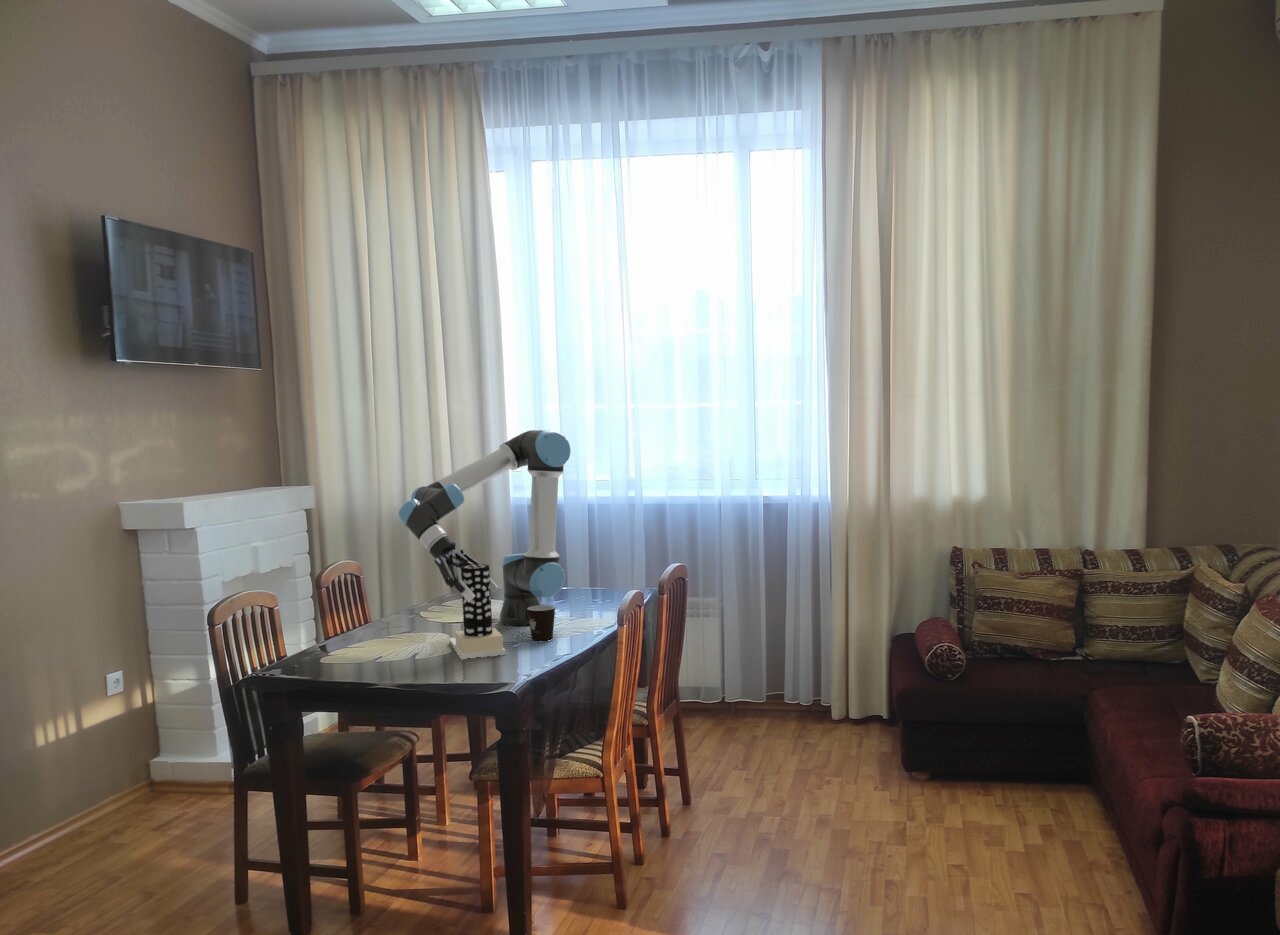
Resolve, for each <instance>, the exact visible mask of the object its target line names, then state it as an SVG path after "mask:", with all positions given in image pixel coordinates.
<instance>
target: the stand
mask: <svg viewBox="0 0 1280 935" xmlns="http://www.w3.org/2000/svg"><path fill="white" fill-rule="evenodd" d="M454 634H455V635H454V636H455V637H451V638H449V644H450V643H451V644H450V646H451V645H452V646H453V647H452V646H451V647H452V649H453V648H454V649H455V650H454V649H453V650H454V651H456V652H457V653H456V652H455V653H456V654H457V656H458V655H459V656H458V657H459V659H460V658H461V659H460V660H468V659H467V658H471V659H477V658H476V657H481V658H487V656H490V657H498V655H500V656H506V649H505V648H504V642H503V641H504V640H503V634H501V632H500V631H499V630H498V629H497V628H496V627H492V633H491V634H489V635H485V636H476V637H472V636H466V635H464V630H458V631H457V630H455V632H454Z"/></svg>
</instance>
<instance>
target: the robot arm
mask: <svg viewBox="0 0 1280 935" xmlns="http://www.w3.org/2000/svg"><path fill="white" fill-rule="evenodd" d="M570 457H571V445H570V442H569V440H568V439H567V437H566V436H565V435H564V434H563V433H561V432H559V431H555V430H551V429H545V430H542V429H541V430H538V429H537V430H536V429H533V430H532V429H531V430H527V431H524V432H522V433H520V434H517V435H516V436H514V437H512V438H511V439H509V440H507V441H506V442H503V443H501V444H500V445H499V447H498V449H496V450H494V451H492V452H490V453H489V454H486V455H485V456H483V457H481V458H479V459H476V460H475V461H474V462H472V463H471V462H470V464H467V465H465V466H464V467H462V468H459V469H458V470H456V471H453V472H452V473H450V474H448V475H446V476H444V477H442V478H441V479H439V480H437V481H434V482H433V483H430V484H428V485H427V486H419V487H417V488H415V489H414V491H413V492H412V493H411V498H410V499H411V500H408V501H406V502H405V503H404V504H403V505H402V506H401V507H400V509H399V510H398V518H400V520H401V521H402V523H403V524H404V525H405V527H407V528H408V530H409V531H410V532H411V533H412V535H414V537H415V538H417V540H418V541H419V542H420V543H421V544H422V547H425V549H426V550H428V551H429V554H430V555H431V556H432V557H433V558H434V559H435V560H434V563H435V565H436V566H437V567H438V569H439V572H440V574H441V575H442V579H443V580H444V582H445V584H446V585H447V586H449V588H451V589H452V588H456V590H457V591H458V592H459V593H460V595H461V596H462V595H463V597H464V598H465V599H466V600H467V601H468V602H471V600H472V599H473V598H474V597H475V595H474V593H473V592H472V591H471V590H470V589H469V588H468V587H467V585H466V584H465V583H464V582H463V581H462V580H461V579H459V575H458V570H457V568H460V569H461V567H462V566H466V565H475V564H482V563H481V562H480V561H479V560H477V559H476V558H474V556H472V555H470V554H469V553H468V552H466V551H465V549H464V548H461V549H460V550H457V549H456V545H457V544H456V542H455V541H454V539H452V537H451V536H449V535H448V533H447V532H446V531H445V530H444V528H443V527H442V526H441V525H440V524H439V523H438V522H439V521H440V520H442V519H444V518H445V517H446V516H448V515H449V514H451V513H452V512H454V511H455V510H458V508H460V506H461V505H463V504H464V502H465V495H464V494H466V493H467V492H470V491H471V490H473V489H475V488H476V487H479V486H480V485H483V484H485V483H486V482H488V481H490V480H493V479H494V478H496V477H498V476H500V475H502V474H503V473H505V472H508V471H509V470H510V471H515V470H517V469H519V468H522V467H526V466H527V472H528V473H529V474H530V475H531V491H530V493H531V494H530V514H529V516H530V520H529V542H528V549H527V551H526V552H524V553H523V552H522V553H515V554H514V553H513V554H508V555H505V556H504V557H503V558H502V580H503V601H502V606H501V609H500V613H499V623H500V624H501V623H503V624H502V625H504V624H508V625H507V626H513V625H522V626H528V625H527V624H529V622H528V620H527V618H526V611H527V608H528V607H531V606H537V605H542V602H541V601H540V598H545V599H546V598H552V597H553V596H555V595H557V594H558V593H559V592H560V591H561V590H562V588H563V586H564V584H565V580H566V574H565V570H564V568H563V567H562V566H561V564H560V560H561V558H560V554H559V553H558V552H557V551H556V539H557V520H558V519H557V518H558V514H557V513H558V496H559V495H558V494H559V493H558V492H559V477H560V476H562V474H563V473H564V465H565V464H566V463H567V461H569V459H570ZM499 588H500V587H499V586H498V585H497V584H496V583H495V581H494V580H493V579H492V578H491V577H490V593H491V595H493V594H494V593H495V592H496V591H497V590H498V589H499ZM527 616H528V613H527ZM528 618H529V617H528Z"/></svg>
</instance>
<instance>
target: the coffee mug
mask: <svg viewBox="0 0 1280 935" xmlns="http://www.w3.org/2000/svg"><path fill="white" fill-rule="evenodd" d="M527 613H528V616H527ZM555 614H556V606H555V605H550V604H549V605H548V604H541V605H537V606H531V607H528V608H527V611H526V618H527V620H528V622H529V624H530V625H529V629H530V635H531V641H532V642H534V641H538V642H537V643H540V642H539V641H548V640H551V639H553V637H554V627H555V626H554V625H555ZM528 617H529V618H528ZM553 640H554V639H553ZM551 641H552V640H551ZM548 642H549V641H548Z"/></svg>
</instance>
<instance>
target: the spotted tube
mask: <svg viewBox="0 0 1280 935" xmlns="http://www.w3.org/2000/svg"><path fill="white" fill-rule="evenodd" d="M490 574H491V573H490V565H489V564H485V563H481V564H475V565H466V566H462V567H461V568H460V578H461V579H460V580H462V581H463V582H464V583H465V584H466V585H467V587H468V588H469V589H470V590H471V591H472V592H473V593H474V595H475V597H474V598H473V599H472V600H471V602H468V601H467V600H466V599H465V598H464V597H463V595H462V594H461V599H462V600H461V601H462V620H463V631H464V635H466V636H472V637H476V636H485V635H489V634H491V633H492V628H493V619H492V618H493V617H492V614H493V613H492V593H491V592H490V578H491V575H490Z"/></svg>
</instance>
